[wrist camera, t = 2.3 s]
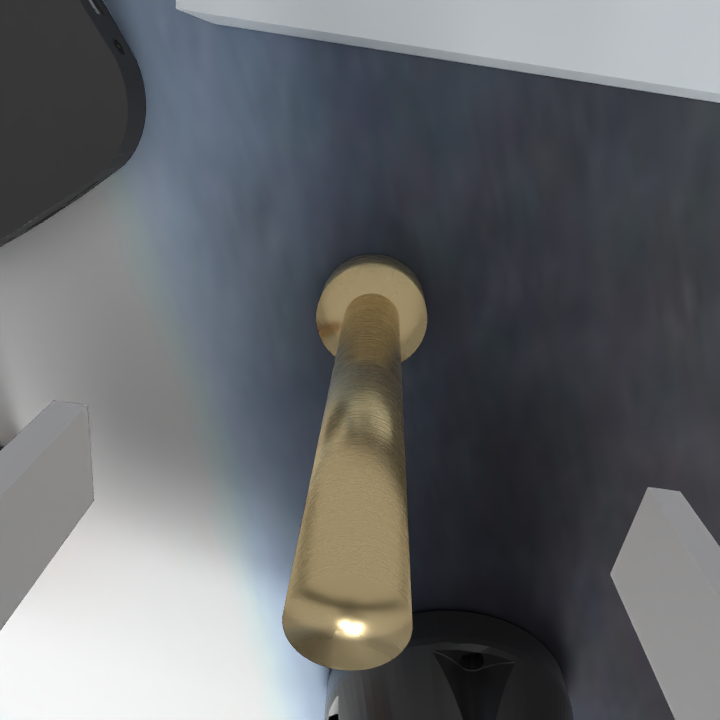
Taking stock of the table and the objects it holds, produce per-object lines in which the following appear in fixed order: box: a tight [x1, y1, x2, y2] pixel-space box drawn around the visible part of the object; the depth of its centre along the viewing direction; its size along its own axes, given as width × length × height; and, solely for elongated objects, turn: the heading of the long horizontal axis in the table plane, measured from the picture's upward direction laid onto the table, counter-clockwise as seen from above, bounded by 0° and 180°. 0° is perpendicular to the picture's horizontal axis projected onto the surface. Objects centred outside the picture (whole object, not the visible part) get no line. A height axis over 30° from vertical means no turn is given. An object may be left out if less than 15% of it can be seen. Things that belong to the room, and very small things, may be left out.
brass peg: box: [282, 254, 427, 671], centre depth 19 cm, size 5×5×18 cm
